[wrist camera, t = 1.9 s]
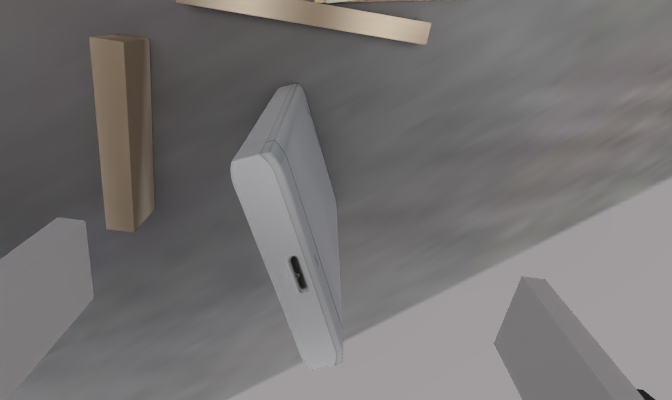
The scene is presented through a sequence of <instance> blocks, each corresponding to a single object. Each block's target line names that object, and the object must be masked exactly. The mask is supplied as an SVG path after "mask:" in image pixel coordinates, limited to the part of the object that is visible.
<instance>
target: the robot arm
mask: <svg viewBox="0 0 672 400" xmlns="http://www.w3.org/2000/svg"><path fill="white" fill-rule="evenodd" d="M93 299H94V293H93V284H92V275H91V266H90V257H89V248H88V239H87V230H86V221H83V220H75V219H67V218H59V217H57V218H56V219H55V220H53V221H52V222H50V223H49V224H48V225H46V226H45V227H44V228H42V229H41V230H39V231H38V232H37V233H35V234H34V235H33V236H31V237H30V238H28V239H27V240H26V241H24V242H23V243H22V244H20V245H19V246H17V247H16V248H15V249H13V250H12V251H11V252H9V253H8V254H6V255H5V256H4V257H2V258H1V259H0V400H8V399H9V398H10V397H11V396H12V394H13V393H14V392H15V391H16V390H17V389H18V387H19V386H20V385H21V384H22V383H23V381H24V380H25V379H26V378H27V377H28V376H29V374H30V373H31V372H32V371H33V370H34V368H35V367H36V366H37V365H38V364H39V363H40V361H41V360H42V359H43V358H44V357H45V355H46V354H47V353H48V352H49V351H50V350H51V348H52V347H53V346H54V345H55V344H56V342H57V341H58V340H59V339H60V338H61V337H62V335H63V334H64V333H65V332H66V331H67V329H68V328H69V327H70V326H71V325H72V324H73V322H74V321H75V320H76V319H77V318H78V316H79V315H80V314H81V313H82V312H83V311H84V309H85V308H86V307H87V306H88V305H89V303H90V302H91V301H92V300H93ZM494 345H495V347H496V348H497V350H498V352H499V354H500V356H501V358H502V360H503V362H504V364H505V366H506V368H507V370H508V372H509V374H510V376H511V378H512V380H513V382H514V384H515V386H516V388H517V390H518V392H519V394H520V396H521V398H522V400H655V399H654V398H652V397H651V396H650V395H649V394H647V393H646V392H645V391H644V390H639V389H636V388H635V387H633V385H632V384H631V382H630V381H629V380H628V379H627V378H626V376H625V375H624V374H623V373H622V372H621V371H620V369H619V368H618V367H617V366H616V364H615V363H614V362H613V361H612V359H611V358H610V357H609V356H608V355H607V353H606V352H605V351H604V350H603V349H602V347H601V346H600V345H599V344H598V343H597V341H596V340H595V339H594V338H593V337H592V335H591V334H590V333H589V332H588V331H587V329H586V328H585V327H584V326H583V325H582V323H581V322H580V321H579V320H578V318H577V317H576V316H575V315H574V314H573V313H572V311H571V310H570V309H569V308H568V306H567V305H566V304H565V303H564V302H563V300H562V299H561V298H560V297H559V296H558V294H557V293H556V292H555V291H554V290H553V288H552V287H551V286H550V285H549V284H548V282H547V281H546V280H545V279H538V278H530V277H521V280H520V282H519V284H518V287H517V289H516V292H515V294H514V297H513V299H512V301H511V304H510V306H509V308H508V311H507V313H506V316H505V318H504V320H503V323H502V325H501V328H500V330H499V332H498V335H497V337H496V340H495V342H494Z"/></svg>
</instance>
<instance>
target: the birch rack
mask: <svg viewBox="0 0 672 400" xmlns="http://www.w3.org/2000/svg"><path fill="white" fill-rule="evenodd" d="M175 2H177V3H183V4H189V5H195V6H200V7H206V8H212V9H218V10H224V11H230V12H235V13H241V14H247V15H253V16H259V17H265V18H271V19H276V20H282V21H288V22H294V23H300V24H306V25H312V26H317V27H323V28H329V29H335V30H341V31H347V32H352V33H358V34H364V35H370V36H376V37H382V38H388V39H393V40H399V41H405V42H411V43H417V44H423V45H426V44H427V40H428V36H429V31H430V27H431V23H428V22H422V21H417V20H411V19H405V18H400V17H394V16H388V15H383V14H377V13H371V12H366V11H360V10H354V9H349V8H343V7H337V6H332V5H326V4H320V3H315V2H309V1H303V0H175ZM89 42H90V53H91V64H92V75H93V86H94V98H95V109H96V120H97V131H98V143H99V154H100V165H101V176H102V187H103V199H104V210H105V221H106V229H108V230H117V231H125V232H135V231H136V230H137V229H138V228H139V227H140V225H141V224H142V223H143V222H144V221H145V220H146V218H147V217H148V216H149V215H150V214H151V213H152V212H153V210H154V209H155V201H154V169H153V137H152V106H151V74H150V42H149V39H147V38H141V37H135V36H128V35H122V34H115V35H103V36H91V37H89Z"/></svg>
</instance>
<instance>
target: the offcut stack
mask: <svg viewBox="0 0 672 400" xmlns="http://www.w3.org/2000/svg"><path fill="white" fill-rule="evenodd" d="M382 1H430V0H315V3H326V4H329V3H339V2H382Z"/></svg>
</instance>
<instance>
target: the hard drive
mask: <svg viewBox="0 0 672 400" xmlns="http://www.w3.org/2000/svg"><path fill="white" fill-rule="evenodd" d="M230 170H231V179H232V183H233V186H234V189H235V191H236V193H237V195H238V198H239V201H240V203H241V206H242V208H243V211H244V213H245V216H246V218H247V221H248V223H249V226H250V228H251V231H252V233H253V236H254V239H255V241H256V244H257V246H258V249H259V251H260V254H261V256H262V259H263V261H264V264H265V266H266V269H267V271H268V274H269V276H270V279H271V281H272V284H273V286H274V289H275V291H276V294H277V296H278V299H279V302H280V304H281V307H282V309H283V311H284V314H285V316H286V319H287V322H288V324H289V327H290V330H291V332H292V335H293V338H294V340H295V343H296V345H297V348H298V350H299V353H300V355H301V358H302V360H303V362H304V363H305V364H306V365H307V366H308V367H309V368H310V369H312V370H314V369H319V368H323V367H328V366H333V365H337V364H340V363H342V359H343V340H342V314H341V290H340V269H339V250H338V227H337V205H336V199H335V195H334V192H333V188H332V185H331V181H330V178H329V175H328V171H327V168H326V164H325V161H324V158H323V154H322V151H321V147H320V144H319V141H318V137H317V134H316V130H315V127H314V124H313V120H312V117H311V113H310V110H309V106H308V103H307V99H306V96H305V93H304V90H303V89H302V87H301V86H300V85H299V84H298V83H295V84H290V85H287V86H283V87H280V88H278V89H277V91H276V92H275V94H274V95H273V97H272V99H271V100H270V102H269V103H268V105H267V106H266V108H265V110H264V111H263V113H262V114H261V116H260V117H259V119H258V121H257V122H256V124H255V126H254V127H253V129H252V130H251V132H250V134H249V135H248V137H247V138H246V140H245V142H244V143H243V145H242V146H241V148H240V149H239V151H238V152H237V154H236V155H235V157H234V158H233V160H232V162H231V166H230Z"/></svg>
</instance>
